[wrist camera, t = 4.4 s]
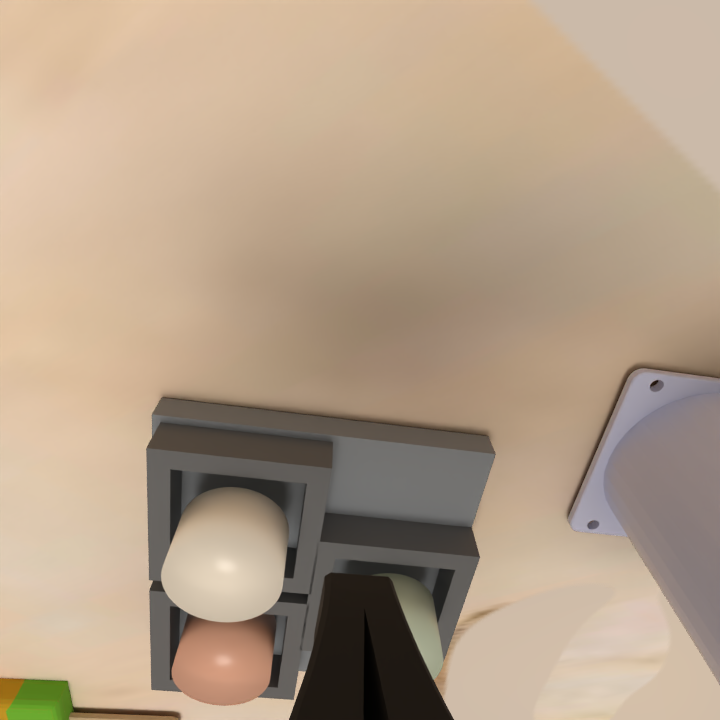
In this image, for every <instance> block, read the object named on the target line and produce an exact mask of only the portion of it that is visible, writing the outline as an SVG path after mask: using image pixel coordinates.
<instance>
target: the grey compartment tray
mask: <svg viewBox="0 0 720 720" xmlns="http://www.w3.org/2000/svg"><path fill="white" fill-rule="evenodd" d="M146 451H147V498H148V546H149V580H153V583H152V585H151V588H150V591H149V593H150V641H151V688H152V690H162V691H177V692H182V691H181V690H180V689H179V688H178V687H177V686H176V685H175V683H174V681H173V678H172V666H173V663H174V660H175V656H176V653H177V649H178V646H179V643H180V639H181V636H182V632H183V629H184V626H185V622H186V619H187V615H188V613H187V612H185V611H184V610H182V609H181V608H179V607H178V606H177V605H176V604H175V603H173V601H172V600H171V599H170V598H169V597H168V595H167V594H166V592H165V590H164V588H163V585H162V581H161V571H162V567H163V564H164V561H165V559H166V556H167V553H168V551H169V548H170V545H171V543H172V540H173V537H174V535H175V532H176V529H177V527H178V524H179V521H180V519H181V516H182V513H183V511H184V509H185V508H186V506H187V505H188V504H189V503H190V502H191V501H192V500H193V499H194V498H195V497H197V496H198V495H200V494H202V493H204V492H206V491H209V490H212V489H216V488H222V487H239V488H246V489H249V490H253V491H256V492H258V493H261V494H263V495H265V496H266V497H268V498H270V499H271V500H272V501H274V502H275V503H276V504H277V505H278V506H279V507H280V508H281V510H282V511H283V512H284V514H285V516H286V518H287V521H288V524H289V539H288V547H287V555H286V563H285V571H284V579H283V587H282V592H281V594H280V597H279V599H278V600H277V602H276V603H275V604H274V605H273V606H272V607H271V608H270V609H269V610H268V611H266V612H264V613H263V614H269V615H274V616H275V619H276V624H277V627H276V636H275V644H274V652H273V660H272V668H271V676H270V682H269V685H268V687H267V688H266V690H265V691H264V692H263V693H262V694H261V695H259V696H258V697H262V698H276V699H290V700H294V694H295V688H296V682H297V676H298V671H306V670H307V666H308V663H309V659H310V656H311V652H312V649H313V644H314V632H315V627H316V621H317V616H318V610H319V605H320V599H321V593H322V588H323V582H324V577H325V575H327V574H329V573H331V572H332V573H345V574H359V575H374V574H382V573H394V574H401V575H405V576H408V577H411V578H414V579H416V580H418V581H419V582H421V583H422V584H423V585H424V586H426V587H427V589H428V590H429V591H430V593H431V595H432V597H433V600H434V606H435V612H436V618H437V624H438V630H439V635H440V641H441V647H442V653H443V662H444V659H445V656H446V653H447V650H448V648H449V645H450V642H451V639H452V636H453V633H454V630H455V627H456V625H457V622H458V619H459V616H460V613H461V610H462V607H463V604H464V602H465V599H466V596H467V593H468V590H469V587H470V584H471V581H472V579H473V576H474V573H475V570H476V567H477V564H478V561H479V558H480V556H479V552H478V549H477V545H476V541H475V538H474V534H473V531H472V525H473V522H474V519H475V516H476V512H477V509H478V506H479V503H480V500H481V497H482V494H483V491H484V488H485V485H486V482H487V479H488V476H489V473H490V470H491V467H492V464H493V461H494V458H495V455H496V454H495V451H494V449H493V446H492V444H491V441H490V439H489V436H482V435H474V434H465V433H457V432H448V431H440V430H431V429H423V428H414V427H406V426H398V425H389V424H381V423H372V422H364V421H355V420H347V419H338V418H330V417H322V416H313V415H305V414H296V413H288V412H279V411H271V410H263V409H254V408H246V407H237V406H229V405H220V404H212V403H203V402H195V401H187V400H178V399H170V398H161V400H160V401H159V403H158V405H157V407H156V408H155V410H154V412H153V413H152V439H151V441H150V442H149V444H148V446H147V448H146Z"/></svg>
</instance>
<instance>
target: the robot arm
mask: <svg viewBox="0 0 720 720" xmlns="http://www.w3.org/2000/svg"><path fill="white" fill-rule="evenodd" d="M655 380H658V383H657V384H656V385H654V386H652V387H650V385H651V383H652V382H654V381H655ZM593 520H594V521H593ZM590 521H593V522H591V523H589V522H590ZM568 522H569V524H570V526H571V528H572V529H573V530H574V531H578V532H587V533H597V534H606V535H616V536H626V537H628V538H629V539H630V541H631V542H632V544H633V546H634V547H635V549H636V550H637V552H638V554H639V555H640V557H641V558H642V560H643V562H644V563H645V565H646V567H647V568H648V570H649V571H650V573H651V575H652V576H653V578H654V579H655V581H656V583H657V584H658V586H659V587H660V589H661V591H662V592H663V594H664V596H665V597H666V599H667V600H668V602H669V604H670V605H671V607H672V608H673V610H674V612H675V613H676V615H677V616H678V618H679V620H680V621H681V623H682V624H683V626H684V628H685V629H686V631H687V633H688V634H689V636H690V637H691V639H692V641H693V642H694V644H695V645H696V647H697V649H698V650H699V652H700V653H701V655H702V657H703V658H704V660H705V662H706V663H707V665H708V666H709V668H710V669H711V671H712V673H713V674H714V676H715V677H716V679H717V681H718V682H719V684H720V378H713V377H706V376H698V375H691V374H683V373H676V372H668V371H661V370H653V369H646V368H642V369H638V370H635V371H634V372H632V373H631V374H630V375H629V377H628V379H627V381H626V383H625V386H624V388H623V390H622V393H621V395H620V397H619V400H618V402H617V404H616V407H615V409H614V411H613V414H612V416H611V418H610V421H609V423H608V425H607V428H606V430H605V432H604V435H603V437H602V439H601V442H600V444H599V446H598V449H597V451H596V453H595V456H594V458H593V460H592V463H591V465H590V467H589V470H588V472H587V474H586V477H585V479H584V482H583V484H582V486H581V489H580V491H579V493H578V496H577V498H576V500H575V503H574V505H573V507H572V510H571V512H570V514H569V517H568ZM289 720H454V719H453V717H452V715H451V713H450V712H449V710H448V708H447V706H446V704H445V702H444V700H443V698H442V696H441V694H440V692H439V690H438V688H437V686H436V684H435V682H434V680H433V678H432V676H431V674H430V672H429V670H428V667H427V665H426V663H425V661H424V659H423V657H422V655H421V653H420V650H419V648H418V646H417V644H416V641H415V639H414V637H413V634H412V632H411V630H410V627H409V625H408V622H407V620H406V617H405V615H404V612H403V610H402V607H401V604H400V602H399V599H398V596H397V593H396V590H395V587H394V584H393V581H392V580H391V579H390V578H389V577H386V576H373V575H359V574H345V573H332V572H331V573H329V574H327V575H325V577H324V582H323V588H322V593H321V599H320V605H319V610H318V616H317V621H316V627H315V632H314V644H313V649H312V652H311V656H310V659H309V663H308V666H307V670H306V673H305V676H304V679H303V682H302V685H301V688H300V690H299V693H298V696H297V699H296V702H295V705H294V707H293V710H292V713H291V716H290V718H289Z"/></svg>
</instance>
